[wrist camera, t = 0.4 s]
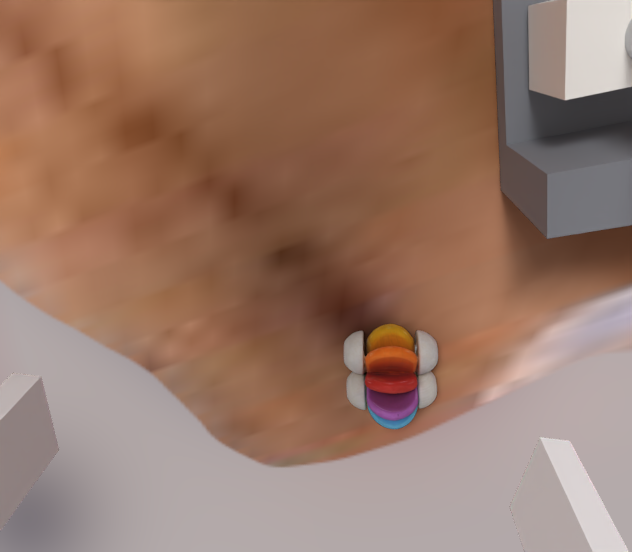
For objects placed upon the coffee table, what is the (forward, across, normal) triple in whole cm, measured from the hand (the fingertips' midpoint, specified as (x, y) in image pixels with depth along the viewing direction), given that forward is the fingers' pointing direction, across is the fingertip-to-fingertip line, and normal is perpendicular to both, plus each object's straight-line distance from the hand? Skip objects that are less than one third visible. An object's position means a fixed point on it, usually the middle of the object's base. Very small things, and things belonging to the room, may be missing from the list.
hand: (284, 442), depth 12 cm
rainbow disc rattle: (+28, +8, -18) cm, 34 cm away
